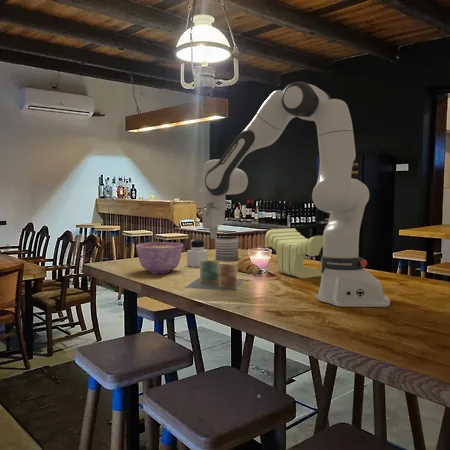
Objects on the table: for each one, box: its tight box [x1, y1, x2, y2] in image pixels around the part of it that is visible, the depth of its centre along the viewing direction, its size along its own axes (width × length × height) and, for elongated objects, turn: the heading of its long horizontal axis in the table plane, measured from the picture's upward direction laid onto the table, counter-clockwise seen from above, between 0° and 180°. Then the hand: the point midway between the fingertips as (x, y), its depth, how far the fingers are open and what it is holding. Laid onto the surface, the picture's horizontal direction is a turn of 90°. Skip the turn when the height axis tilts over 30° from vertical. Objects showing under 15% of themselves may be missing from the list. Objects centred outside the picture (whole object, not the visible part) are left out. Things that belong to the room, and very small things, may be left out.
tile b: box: [219, 263, 238, 289], centre depth 165 cm, size 6×2×8 cm, turn 77°
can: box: [215, 235, 239, 262], centre depth 233 cm, size 11×11×12 cm
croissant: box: [236, 255, 261, 275], centre depth 201 cm, size 21×10×8 cm, turn 17°
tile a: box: [199, 259, 220, 283], centre depth 174 cm, size 7×2×8 cm, turn 77°
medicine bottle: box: [186, 239, 209, 268], centre depth 214 cm, size 7×7×12 cm
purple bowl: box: [135, 241, 184, 274], centre depth 198 cm, size 20×20×12 cm
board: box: [184, 277, 245, 291], centre depth 170 cm, size 18×18×1 cm
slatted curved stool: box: [264, 227, 323, 279], centre depth 192 cm, size 30×16×18 cm, turn 29°
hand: (213, 238), depth 179 cm, fingers closed
